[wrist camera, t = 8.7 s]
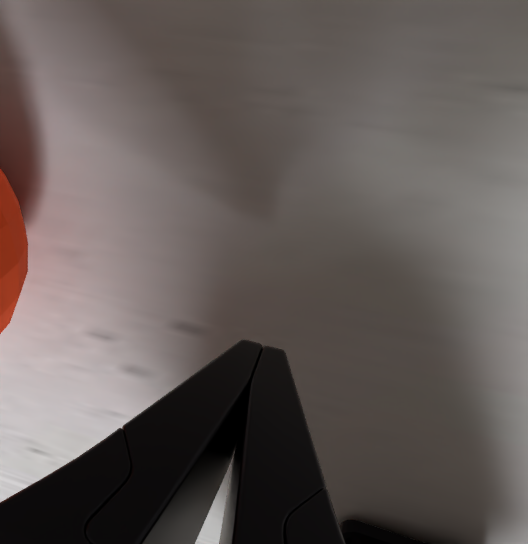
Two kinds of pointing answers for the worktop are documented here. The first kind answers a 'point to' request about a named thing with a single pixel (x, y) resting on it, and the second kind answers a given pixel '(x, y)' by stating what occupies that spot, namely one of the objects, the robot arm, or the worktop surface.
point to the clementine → (11, 251)
